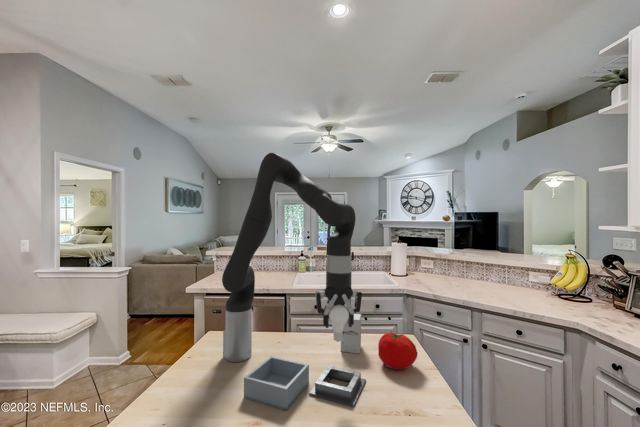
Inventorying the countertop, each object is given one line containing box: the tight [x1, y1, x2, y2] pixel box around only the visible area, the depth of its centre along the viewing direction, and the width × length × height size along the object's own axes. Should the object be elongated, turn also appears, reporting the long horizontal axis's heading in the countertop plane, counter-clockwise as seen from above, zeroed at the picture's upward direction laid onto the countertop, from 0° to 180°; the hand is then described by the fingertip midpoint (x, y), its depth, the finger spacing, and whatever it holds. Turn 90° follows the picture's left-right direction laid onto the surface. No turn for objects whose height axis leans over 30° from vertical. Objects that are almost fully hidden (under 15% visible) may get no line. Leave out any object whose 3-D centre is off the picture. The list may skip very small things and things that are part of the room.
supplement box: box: [340, 313, 362, 354], centre depth 108 cm, size 7×7×13 cm
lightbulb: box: [328, 304, 349, 343], centre depth 83 cm, size 6×6×11 cm
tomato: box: [377, 331, 418, 371], centre depth 96 cm, size 13×12×11 cm
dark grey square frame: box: [308, 365, 367, 408], centre depth 83 cm, size 13×13×3 cm
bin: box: [243, 356, 310, 411], centre depth 82 cm, size 14×14×6 cm
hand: (338, 326), depth 83 cm, fingers closed on lightbulb, 6 cm apart
